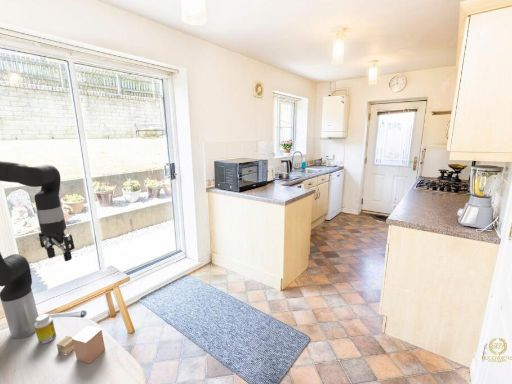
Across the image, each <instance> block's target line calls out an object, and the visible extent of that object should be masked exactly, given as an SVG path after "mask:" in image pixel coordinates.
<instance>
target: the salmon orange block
mask: <svg viewBox="0 0 512 384" xmlns="http://www.w3.org/2000/svg"><path fill="white" fill-rule="evenodd" d="M72 341H73V345H74V349H73V350H74V353H75V358H76V360H77V359H78V360H77V361H81V362H84V363H86V364H91V363H93V361H95V360H96V359H97V358H98V357H99V355H101V354H102V353H103V352H104V351H105V350H106V347H105V341H104V337H103V330H102V328H99V327H94V326H90V325H87V326H86V327H85V328H84V329H82V330H81V331H80V332H78V333H77V334H76V335H75V336H73V338H72Z"/></svg>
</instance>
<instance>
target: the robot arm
mask: <svg viewBox="0 0 512 384" xmlns="http://www.w3.org/2000/svg"><path fill="white" fill-rule="evenodd" d="M0 182H6V183H15V184H16V183H17V184H19V185H23V186H26V187H33V188H39V187H40V190H39V191H38V192H37V193H35V194H34V203H35V207H36V211H37V212H36V215H37V220H38V224H39V229H40V232H39V233H38V239H39V243H40V247H41V248H44V250H46V253H47V257H48V259H52V258H55V257H56V251H55V248H54V246H56V247H57V248H58V249H60V250H61V251H62V253H63V254H62V255H63V259H64V261H65V262H68V261H70V260H72V252H71V251H73V250H75V243H74V240H73V236H72V234H71V233H70V234H65V230H66V229H67V223H66V219H65V214H64V210H63V208H62V204H61V200H60V191H61V190H60V189H61V188H60V187H61V174H60V171H59V169H57V167H56V166H54V165H51V164H42V165H37V166H36V165H35V166H28V165H26V164H24V163H20V162H11V161H1V160H0ZM32 285H33V278H32V271H31V268H30V263H29V261H28V260H27V258H26V257H24V255H21V254H17V253H15V254H10V255H8V256H6V257H3V255H2V253H1V252H0V287H3V288H2V289H1V290H0V302H1V304H2V308H3V313H4V315H5V318H6V322H7V326H8V330H9V332H10V337H11V338H12V339H15V340H16V339H17V340H19V339H23V338H26V337H29V336H30V335H33V334H34V333H36V330H35V327H34V325H35V323H36V318H37V317H38V316H39V313H38V309H37V305H36V301H35V298H34V293H33V290H32V289H33V288H32Z"/></svg>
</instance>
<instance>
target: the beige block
mask: <svg viewBox="0 0 512 384" xmlns="http://www.w3.org/2000/svg"><path fill="white" fill-rule="evenodd" d="M72 338H74V336H73V337H72V336H69V335H66V336H65V337H63V338H62V339H61V340H59V341H58V342H57V343H56V348H57V351H58V352H57V353H58V354H61V353H62V355H64V354H67V355H68V354H70V353H71V352H72V351H73V350H74V345H73V341H72ZM70 351H71V352H70Z"/></svg>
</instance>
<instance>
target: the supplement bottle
mask: <svg viewBox="0 0 512 384" xmlns="http://www.w3.org/2000/svg"><path fill="white" fill-rule="evenodd" d="M34 327H35V330H36V331H35V333H36V337H37V341H38V343H39V344H47V343H50V342H51V341H53V340H54V339H55V337H56V335H57V334H56V330H55V329H56V328H55V323H54V321H53V318H52V317H51V316H50V315H49V313H43V314H40V315H38V317H37V318H36V323H35V325H34Z"/></svg>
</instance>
